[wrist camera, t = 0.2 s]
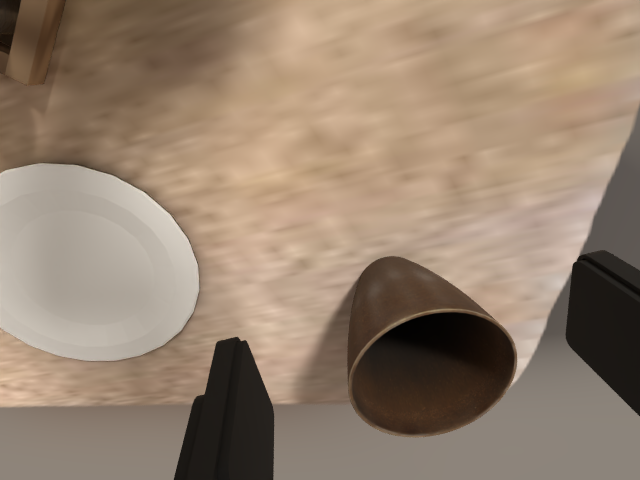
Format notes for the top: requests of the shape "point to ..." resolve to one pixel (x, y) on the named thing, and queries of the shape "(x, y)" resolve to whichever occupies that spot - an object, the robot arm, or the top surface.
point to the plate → (90, 264)
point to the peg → (8, 15)
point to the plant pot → (423, 352)
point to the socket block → (32, 41)
